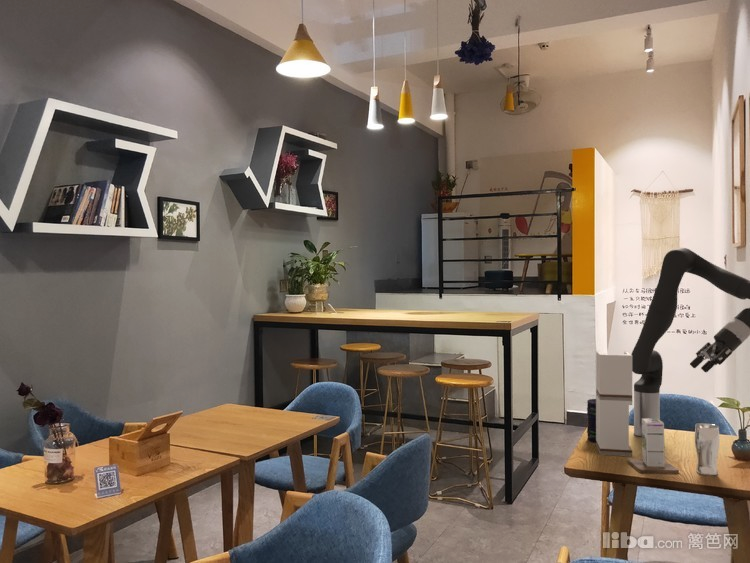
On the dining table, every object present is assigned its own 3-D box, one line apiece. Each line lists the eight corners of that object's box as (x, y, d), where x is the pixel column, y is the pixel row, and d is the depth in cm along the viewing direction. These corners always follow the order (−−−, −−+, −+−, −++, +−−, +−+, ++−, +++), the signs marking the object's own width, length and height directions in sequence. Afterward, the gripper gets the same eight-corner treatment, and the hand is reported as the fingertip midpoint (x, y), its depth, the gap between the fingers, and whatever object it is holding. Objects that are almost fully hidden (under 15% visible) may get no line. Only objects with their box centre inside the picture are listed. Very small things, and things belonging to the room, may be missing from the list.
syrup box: (665, 467, 198) (665, 422, 198) (645, 466, 199) (645, 421, 199) (660, 462, 204) (660, 418, 204) (641, 461, 205) (641, 417, 205)
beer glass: (711, 469, 200) (711, 422, 200) (724, 476, 193) (724, 428, 193) (690, 469, 200) (690, 423, 199) (702, 476, 193) (702, 428, 193)
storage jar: (619, 440, 234) (619, 401, 234) (606, 445, 228) (606, 405, 227) (595, 435, 242) (594, 397, 241) (582, 440, 235) (581, 401, 235)
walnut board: (626, 461, 208) (626, 458, 208) (663, 461, 208) (663, 459, 208) (640, 473, 196) (640, 469, 196) (678, 473, 196) (678, 470, 196)
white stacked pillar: (632, 456, 214) (632, 355, 214) (599, 454, 217) (599, 354, 216) (626, 447, 226) (626, 351, 225) (596, 445, 228) (596, 350, 228)
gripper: (714, 325, 217) (680, 357, 218) (735, 329, 202) (699, 363, 203) (730, 340, 216) (696, 372, 217) (752, 345, 202) (715, 380, 203)
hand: (697, 368), depth 210 cm, fingers open, 8 cm apart
